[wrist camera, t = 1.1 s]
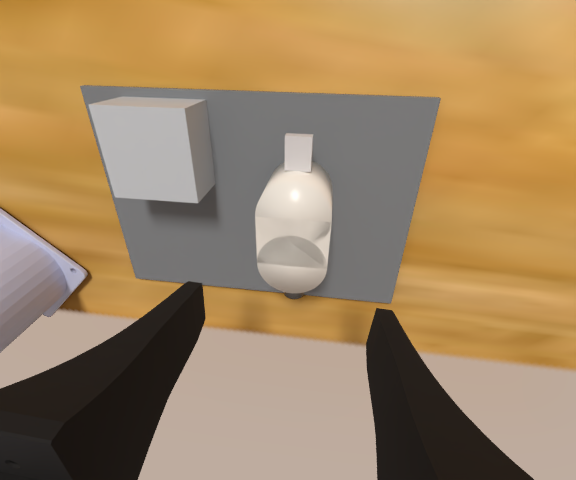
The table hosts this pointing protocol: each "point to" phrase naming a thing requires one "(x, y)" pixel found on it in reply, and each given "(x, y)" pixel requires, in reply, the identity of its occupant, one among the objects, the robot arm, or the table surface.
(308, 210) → the plug
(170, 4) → the table surface
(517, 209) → the table surface
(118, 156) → the block
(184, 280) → the mat
